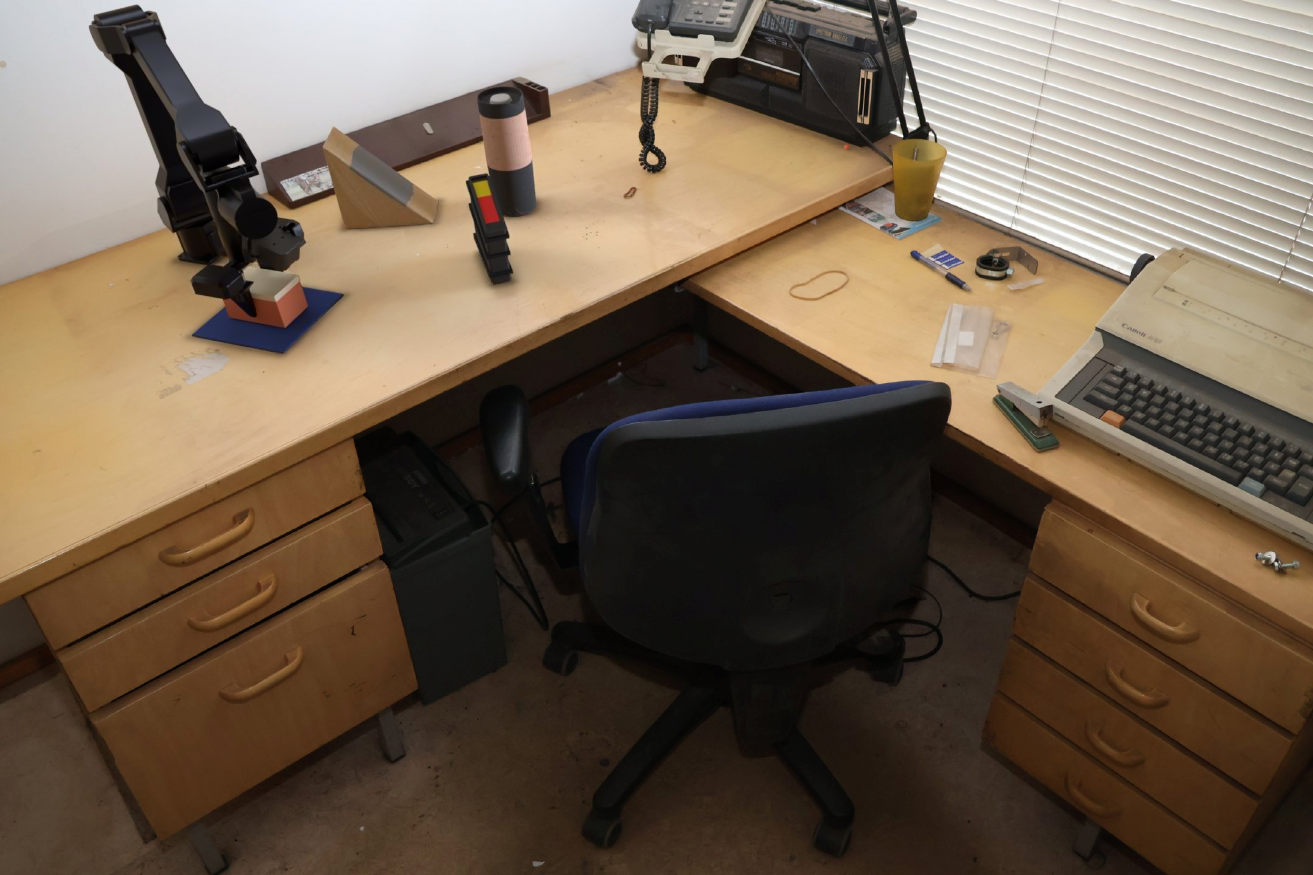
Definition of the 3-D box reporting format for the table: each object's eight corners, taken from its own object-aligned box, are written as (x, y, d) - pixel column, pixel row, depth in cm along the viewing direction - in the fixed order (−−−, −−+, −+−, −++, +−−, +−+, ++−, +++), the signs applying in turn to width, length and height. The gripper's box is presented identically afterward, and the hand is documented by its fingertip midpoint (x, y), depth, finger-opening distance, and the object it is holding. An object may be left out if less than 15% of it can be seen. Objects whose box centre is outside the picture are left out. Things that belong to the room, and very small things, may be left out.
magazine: (493, 230, 166) (489, 170, 152) (514, 296, 161) (512, 240, 147) (471, 235, 165) (465, 175, 151) (491, 301, 160) (487, 245, 147)
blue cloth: (192, 336, 149) (191, 334, 149) (257, 280, 160) (257, 279, 160) (282, 353, 145) (282, 352, 144) (343, 295, 156) (343, 293, 156)
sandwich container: (434, 224, 172) (416, 141, 162) (344, 229, 172) (321, 147, 162) (439, 200, 178) (423, 119, 169) (353, 205, 178) (331, 124, 168)
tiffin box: (228, 318, 151) (216, 286, 148) (253, 296, 156) (242, 265, 152) (285, 328, 149) (274, 296, 145) (309, 306, 153) (299, 274, 149)
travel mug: (495, 198, 178) (477, 87, 165) (538, 195, 178) (523, 84, 165) (493, 219, 172) (474, 106, 159) (538, 216, 173) (523, 102, 159)
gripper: (239, 253, 132) (274, 349, 143) (319, 188, 145) (346, 281, 156) (171, 241, 135) (209, 336, 146) (255, 179, 149) (285, 271, 159)
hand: (266, 305), depth 151 cm, fingers closed on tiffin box, 6 cm apart
